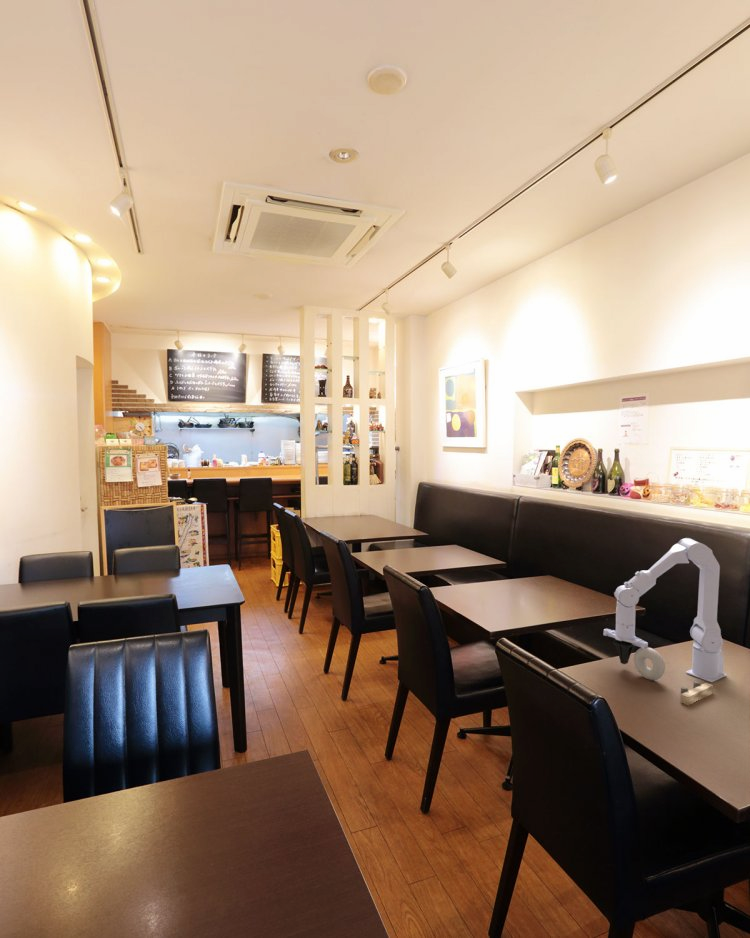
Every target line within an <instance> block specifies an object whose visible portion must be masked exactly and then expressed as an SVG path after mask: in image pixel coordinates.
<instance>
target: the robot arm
mask: <svg viewBox="0 0 750 938" xmlns="http://www.w3.org/2000/svg"><path fill="white" fill-rule="evenodd" d="M689 560H690V561H691V562H692V563H693V564H694V565H696V567H698V569H699V580H698V597H697V598H698V599H697V615H696V617H694V619H693V624H692V626H691V627H690V630H689V633H690V637H691V638H692V639H693V643H692V659H691V662H692V663H691V669H689V670H687V671H685V673H686V674H688V675H690V676H693V677H696V678H698V679H700V680H703V681H706V682H709V683H713V682H716V681H718V680H720V679H722V678H725V677H727V673H724V664H725V663H724V662H725V661H724V659H725V656H724V652H723V651H722V649H723V646H724V639H723V638H722V634H721V633H722V632H721V631H722V630H721V628H720V625H719V623H718V605H719V587H720V570H721V566H720V564H719V562H718V560H717V558H716V556H715V555H714V553H713V550H712V549H711V548H710V547H708V546H707V545H706V544H704V543H702V542H699V541H696V540H695V539H692V538H690V537H685V538H682V539H680V540H679V541H678V542H677V543H675V544H674V545H672V546H671V548H670V549H669V550H668V551H667V552H666V553H664V554H663V556H662V557H661V558H660V559H659V560H658V561H656V562H655V563H654V564H653V565H652V566H651V567H650V568H649V569H648V570H640V571H639V570H638V571H636V572H635V573H634V576H633V577H632V578H630V579H629V580H628V581H624V582H623V584H622V585H619V586H617V588H616V589H615V591H614V592H613V595H614V598H615V599H616V609H615V630H614V629H610V628H604V629H603V636H605V637H610V638H613V639H615V640H614V641H613V645H614V647H615V648H616V651H617V654H618V657H619V661H620V664H622V665H626V664H628V663H629V660H630V657H631V654H632V652H633V651H634V650H635V648H636V647H639V648H642V649H645V648H646V647H649V642H647V641H646V640H643V639H641V638H640V637H637V636H636V633H635V632H636V605H637V604H638V603H639V601H640V597H642V596H643V595H644V594H646V593H647V592H648V591H649V590H651V589H652V588H653V587H654V586H656V584H657V583H656V582H657V578H660V576H662V575H663V574H664V573H666V572H667V571H668V570H670V569H671V568H673V567H674V566H675V565H677V564H689V563H690V561H689Z"/></svg>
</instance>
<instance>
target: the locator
mask: <svg viewBox="0 0 750 938" xmlns="http://www.w3.org/2000/svg"><path fill="white" fill-rule="evenodd" d="M692 685H693V686H692V687H693V688H692V689H689V688H688V687H686V686H684V687H683V686H681V687H680V704H682V703H684V704H683V705H685V704H686V705H685V706H687V705H688V706H690V705H692V704H694V702H695V703H696V701H697V702H699V701H701V700H703V699H705V698H706V697H708V696H711V695H713V693H714V685H713V684H710V683H708V682H705V683H702V684H701V682H700V681H696V680H695V681H693V684H692ZM698 700H699V701H698ZM689 704H690V705H689Z"/></svg>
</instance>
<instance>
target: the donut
mask: <svg viewBox="0 0 750 938" xmlns="http://www.w3.org/2000/svg"><path fill="white" fill-rule="evenodd" d="M647 659H649V660H650V661H651V663H652V668H650V667H649V666H648V665H647V663H646V661H647ZM633 662H634V663H633V664H634V666H635V669H636V671H637V672H638V673H639V674H640V675H641V676H642V677H643V678H645V679H647V680H648V681H649V680H650V681H656V680H657V681H658V680H660V679H661V678H662V677H663V676H664V674H665V671H666V666H665V665H666V664H665V660H664V658H663V656H662V655H661V654H660V653H659V652H658V651H657V650H655V649H653V648H652V647H649V646H648V647H646V648H645V649H642V648H641V647H639V649H637V650H636V651H635V653H634V656H633Z"/></svg>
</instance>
